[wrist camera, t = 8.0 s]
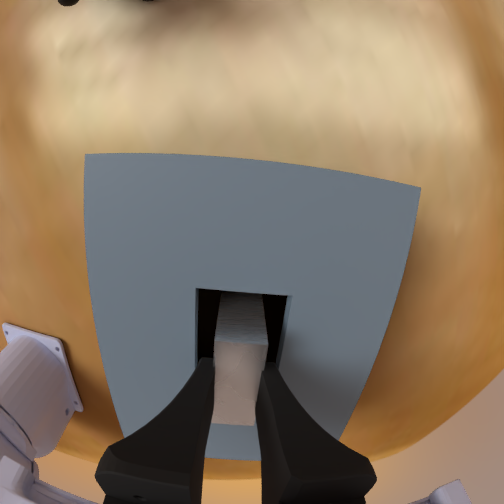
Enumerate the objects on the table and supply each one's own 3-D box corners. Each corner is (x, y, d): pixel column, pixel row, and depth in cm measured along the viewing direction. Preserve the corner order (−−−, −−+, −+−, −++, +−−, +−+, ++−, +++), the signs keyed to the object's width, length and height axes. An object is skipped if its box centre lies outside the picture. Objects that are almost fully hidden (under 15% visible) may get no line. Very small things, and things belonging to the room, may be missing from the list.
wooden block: (251, 362, 17) (253, 425, 12) (217, 359, 17) (211, 422, 12) (261, 288, 15) (268, 344, 11) (222, 285, 15) (214, 340, 10)
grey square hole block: (312, 393, 23) (328, 457, 16) (148, 381, 22) (126, 444, 15) (361, 175, 17) (421, 187, 11) (140, 153, 17) (85, 154, 10)
